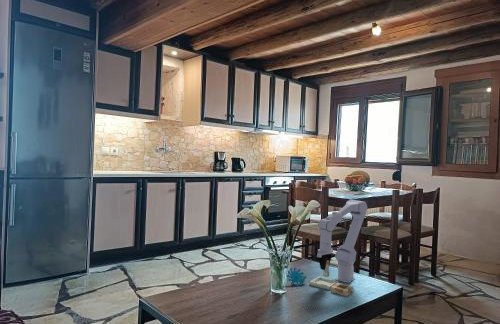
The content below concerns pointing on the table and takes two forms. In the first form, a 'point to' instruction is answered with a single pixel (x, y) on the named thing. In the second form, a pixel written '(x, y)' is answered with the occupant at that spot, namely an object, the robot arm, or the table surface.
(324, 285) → the tray
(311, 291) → the table surface
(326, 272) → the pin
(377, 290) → the table surface
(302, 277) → the blue spiky virus model
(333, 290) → the socket block
